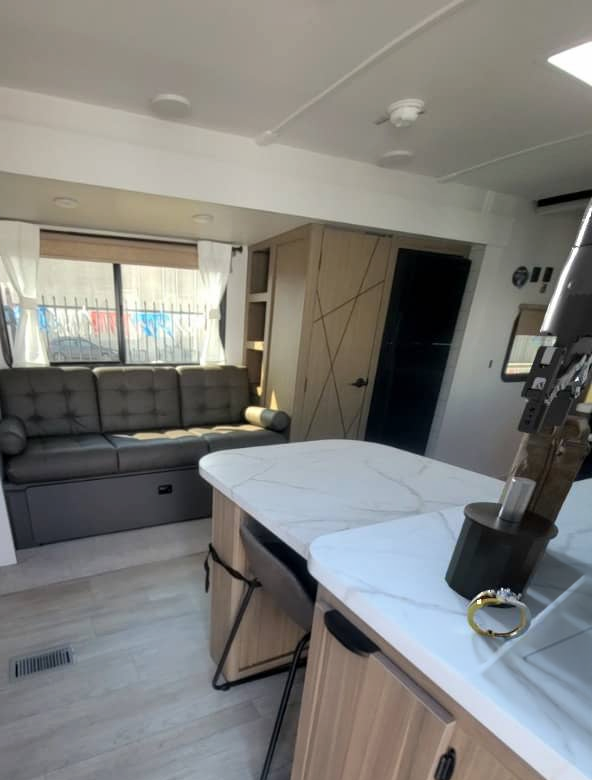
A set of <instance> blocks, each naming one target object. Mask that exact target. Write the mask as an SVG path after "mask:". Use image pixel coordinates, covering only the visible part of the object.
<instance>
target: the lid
mask: <svg viewBox="0 0 592 780" xmlns="http://www.w3.org/2000/svg"><path fill="white" fill-rule="evenodd" d="M535 485H536V482H535V481H533V480H530V479H527V478H521V477H514V478H512V481H511V483H510V486H509V489H508V491H507V494H506V497H505V499H504V502H503V504H500V503H498V502H492V501H491V502H490V501H477V502H470V503H468V504H466V505H465V507H464V509H463V511H462V513H463V515H464V518H465V517H466V518H467V519H468V520H469V521H471V522H472V523H474V524H475V525H477V526H479V527H481V528H483V529H485V530H488V531H490V532H493V533H496V534H499V535H502V536H506V537H510V538H515V539H520V540H527V541H548V540H550V541H551V540H555V538H556V537H558V534H559V530H560V529H559V528H558V526H557V525H556V523H555V524H554V523H553V522H551V521H550V520H548V519H547V518H545V517H543V516H541V515H539V514H536V513H534V512H531V511H528V510H526V507H527V505H528V502H529V500H530V497H531V495H532V493H533V490H534V488H535Z"/></svg>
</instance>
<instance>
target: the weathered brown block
mask: <svg viewBox="0 0 592 780" xmlns="http://www.w3.org/2000/svg"><path fill="white" fill-rule="evenodd" d="M591 432H592V430H591V426H590V424H589V421H588V419H587V418H586V417H585V416H584V417H583V416H578V415H569V414H568V415H567V417H566V420H565V422H564V424H563V425H561V426H552V425H546V424H544V422H543V423H542V425H541V428H540V430H539V432H538V433H535V434H529V433H524V432H523V433H524V434H523V436H522V439H521V441H520V444H519V447H518V448H517V452H516V454H515V456H514V460H513V462H512V464H511V467H510V470H509V473H508V475H507V478H506V481H505V484H504V486H503V489H502V491H501V493H500V496H499V500H498V502H497V503H500V504H503V502H504V499H505V497H506V494H507V491H508V489H509V486H510V483H511V481H512V478H514V477H521V478H527V479H530V480H533V481H535V482H536V485H535V488H534V490H533V493H532V495H531V497H530V500H529V502H528V505H527V507H526V510H528V511H531V512H534V513H536V514H539V515H541V516H543V517H545V518H547V519H548V520H550V521H551V522H553V523H554V524H555V525H556V522H557V519H558V516H559V514H560V511H561V509H562V507H563V505H564V503H565V502H566V499H567V497H568V495H569V494H570V491H571V489H572V487H573V485H574V484H573V483H574V481H575V480H576V478H577V476H578V474H579V471H580V469H581V467H582V465H583V463H584V461H585V459H586V457H588V456H589V454H590V453H591V450H592V444H590V443H589V442H588V440H589V437H590V435H591Z"/></svg>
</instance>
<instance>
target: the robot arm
mask: <svg viewBox="0 0 592 780" xmlns="http://www.w3.org/2000/svg"><path fill="white" fill-rule="evenodd" d="M571 248H572V249H570V252H569V253H568V256H567V258H566V259H565V260H566V261H565V262H564V264H563V267H562V269H561V271H560V274H559V276H558V279H557V281H556V284H555V287H554V290H553V292H552V294H551V295H552V296H551V299H550V301H549V304H548V307H547V310H546V313H545V315H544V318H543V320H542V321H543V322H542V324H541V327H540V330H539V332H540V334H541V335H543V336H549V337H550V336H551V337H554V340H553V341H552V344H551V346H550V345H540V346H539V347H538V349H537V350H536V354H535V356H534V358H533V361H532V364H531V366H530V369H529V372H528V375H527V377H526V379H525V383H524V385H523V388H522V390H521V393H520V397H521V398H524V402H525V403H526V404H525V406H524V409H523V412H522V415H521V417H520V419H519V423H518V426H517V431H518V432H521V433H529V434H535V433H538V432H539V430H540V428H541V425H542V423H543V422H544V424H546V425H552V426H561V425H563V424H564V422H565V420H566V417H567V415H569V413H570V410H571V408H572V406H573V402H574V401H575V399H577V398H578V397H579V396H580V394H581V393H584V392H585V391H586V390H587V386H588V383H589V381H590V379H591V375H592V197H591V198H590V200H589V201H588V204H587V205H586V208H585V211H584V213H583V216H582V219H581V221H580V223H579V227H578V229H577V232H576V235H575V238H574V240H573V244H572V246H571Z"/></svg>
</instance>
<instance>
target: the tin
mask: <svg viewBox="0 0 592 780" xmlns="http://www.w3.org/2000/svg"><path fill="white" fill-rule="evenodd" d="M550 542H551V540H548V541H527V540H520V539H515V538H510V537H506V536H502V535H499V534H496V533H493V532H490V531H488V530H485V529H483V528H481V527H479V526H477V525H475V524H474V523H472V522H471V521H469V520H468V519H467V518H466V517H465V516H464V519H463V522H462V526H461V528H460V531H459V533H458V537H457V540H456V543H455V545H454V549H453V550H452V551H453V552H452V554H451V556H450V560H449V563H448V566H447V569H446V572H445V576H444V580H445V582H446V584H447V585H448V587H449V588H450V589H451V590H453V591H454V592H455V593H456V594H458V595H459V596H461V597H463V598H465V599H466V600H469V601H470V602H471V601H472V600H473V599H474V598H475V597H476V596H477V595H479V594H480V593H482V592H484V591H487V590H491V589H496V588H501V587H503V588H504V589H507V588H510V591H511V592H513V593H514V594H515V595H516V596H518V594H521V597H520V598H519V599H520V600H521V601H522V602H523V600H524V598H525V597H526V594H527V591H528V589H529V588H530V585H531V582H532V581H533V578H534V577H535V574H536V572H537V570H538V567H539V565H540V564H541V562H542V559H543V557H544V555H545V552H546V550H547V548H548V546H549V544H550ZM490 598H495V599H497V597H491V596H489V597H487V598H485V599H490ZM487 607H488V608H495V609H503V610H505V609H506V610H507V609H512V608H518V606H516V605H512V604H507V603H500V604H493V605H488V606H487Z"/></svg>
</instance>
